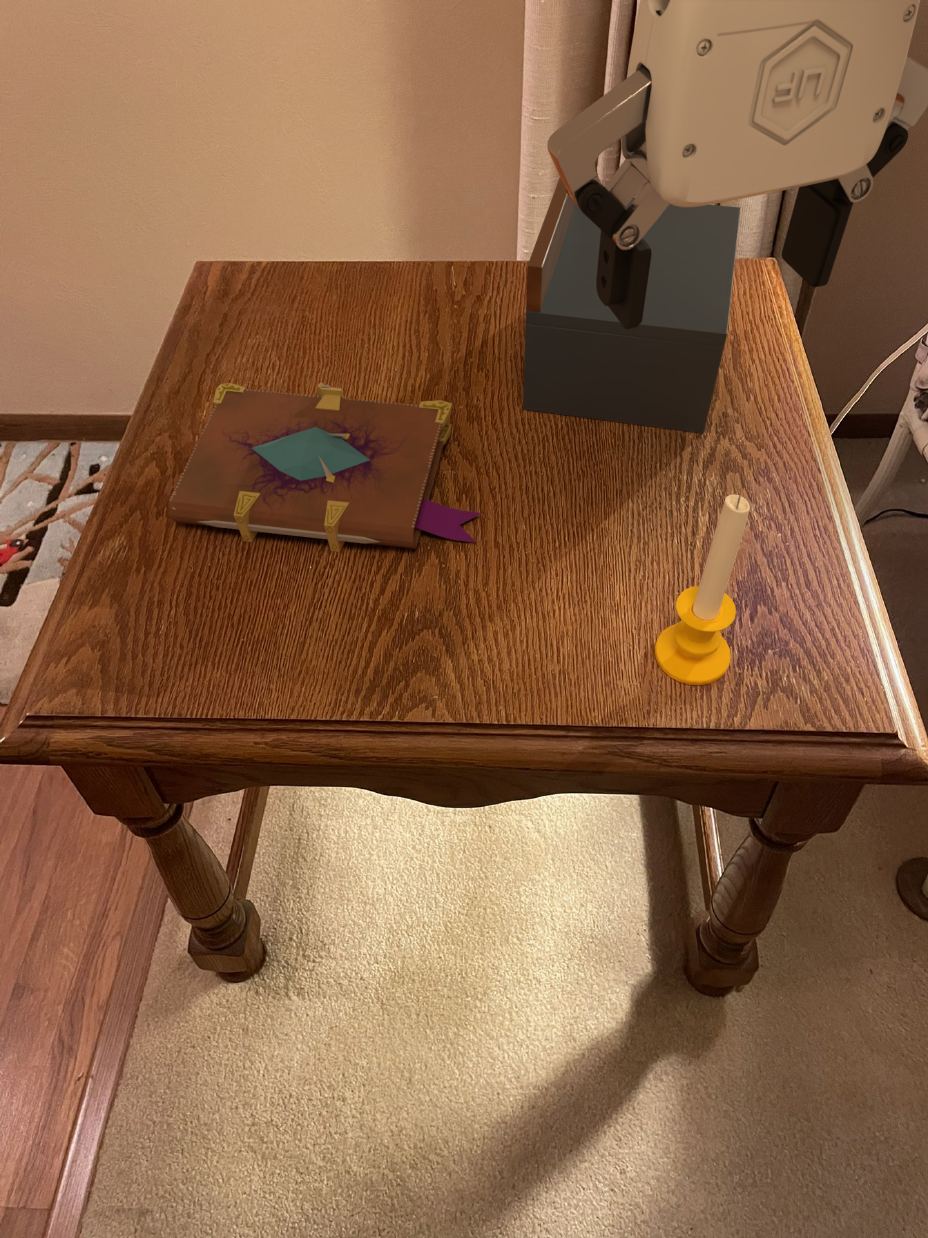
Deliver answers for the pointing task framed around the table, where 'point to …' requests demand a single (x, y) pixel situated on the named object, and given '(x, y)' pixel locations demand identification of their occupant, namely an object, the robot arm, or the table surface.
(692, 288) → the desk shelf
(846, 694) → the table surface
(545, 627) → the table surface
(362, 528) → the book
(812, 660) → the table surface
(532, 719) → the table surface
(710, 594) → the candle
